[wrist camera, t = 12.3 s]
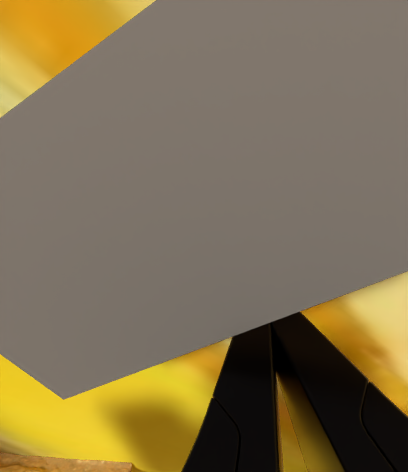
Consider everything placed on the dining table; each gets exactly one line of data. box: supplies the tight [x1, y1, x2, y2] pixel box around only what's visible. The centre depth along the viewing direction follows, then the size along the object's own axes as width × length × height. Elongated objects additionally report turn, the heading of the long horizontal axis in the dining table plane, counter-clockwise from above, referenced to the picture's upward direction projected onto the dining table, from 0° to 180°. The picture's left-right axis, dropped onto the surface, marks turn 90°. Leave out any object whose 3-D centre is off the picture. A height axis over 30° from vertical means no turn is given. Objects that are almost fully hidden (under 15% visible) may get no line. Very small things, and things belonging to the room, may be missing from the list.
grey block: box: [0, 0, 408, 399], centre depth 6 cm, size 10×5×4 cm, turn 120°
